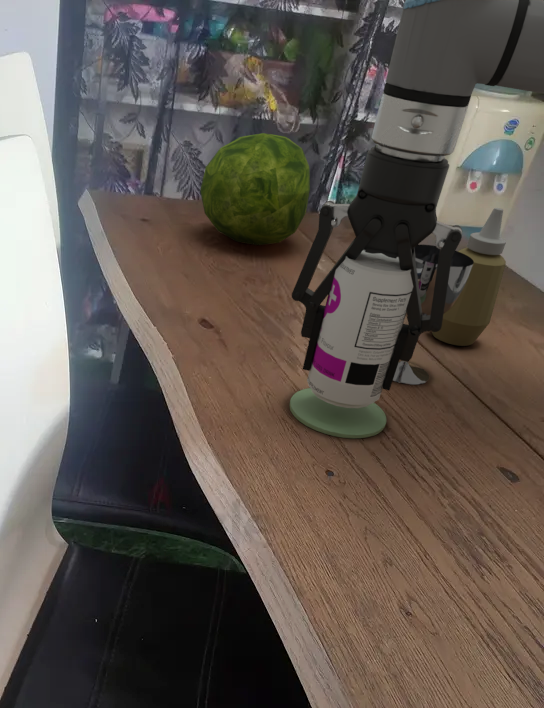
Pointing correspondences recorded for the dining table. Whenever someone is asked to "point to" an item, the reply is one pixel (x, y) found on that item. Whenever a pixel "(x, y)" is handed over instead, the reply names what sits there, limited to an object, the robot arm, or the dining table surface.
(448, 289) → the wine glass
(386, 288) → the supplement can
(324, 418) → the coaster
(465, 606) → the dining table surface
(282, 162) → the lettuce
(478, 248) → the squeeze bottle
